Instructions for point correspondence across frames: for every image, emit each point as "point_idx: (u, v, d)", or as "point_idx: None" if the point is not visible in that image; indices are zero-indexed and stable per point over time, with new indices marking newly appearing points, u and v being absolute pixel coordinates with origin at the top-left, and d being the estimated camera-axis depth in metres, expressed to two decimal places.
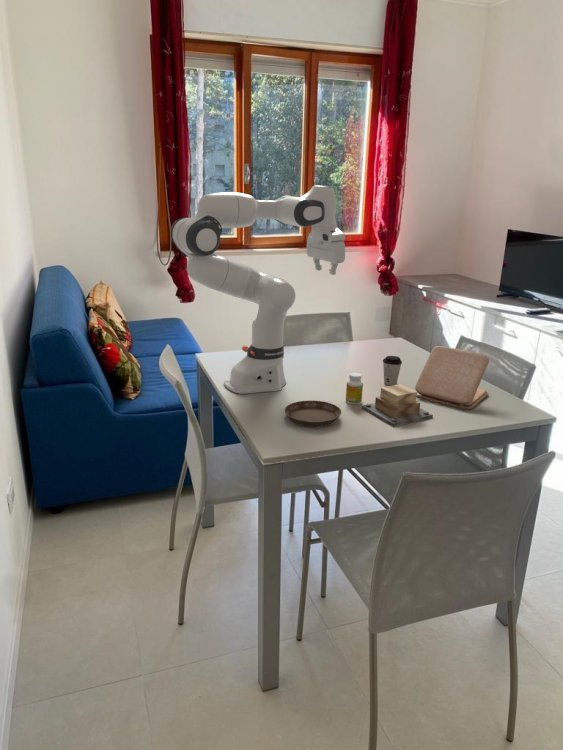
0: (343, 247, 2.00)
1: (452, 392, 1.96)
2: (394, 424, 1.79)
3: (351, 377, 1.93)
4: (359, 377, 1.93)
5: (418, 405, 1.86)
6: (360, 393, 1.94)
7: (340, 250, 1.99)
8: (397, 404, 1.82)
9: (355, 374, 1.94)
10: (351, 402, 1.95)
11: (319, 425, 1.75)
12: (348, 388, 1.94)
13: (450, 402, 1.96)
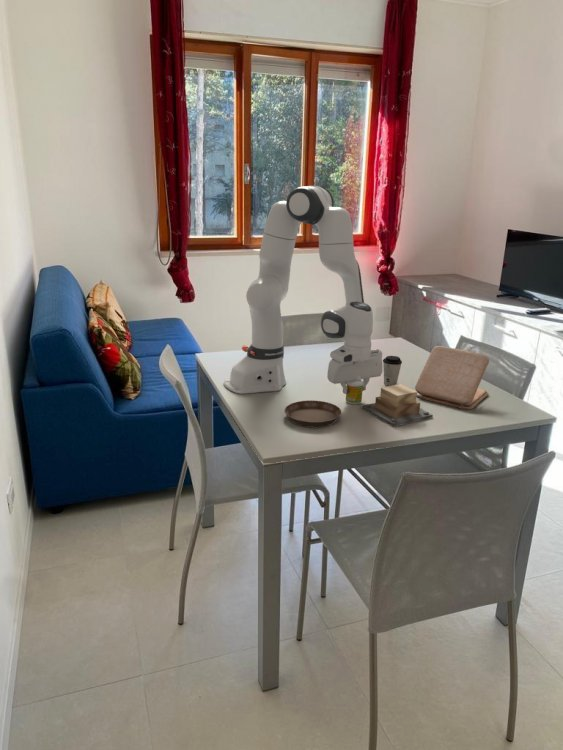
0: (334, 368, 1.87)
1: (452, 392, 1.96)
2: (394, 424, 1.79)
3: None
4: (359, 377, 1.93)
5: (418, 405, 1.86)
6: (360, 393, 1.94)
7: (331, 370, 1.88)
8: (397, 404, 1.82)
9: None
10: (351, 402, 1.95)
11: (319, 425, 1.75)
12: None
13: (450, 402, 1.96)
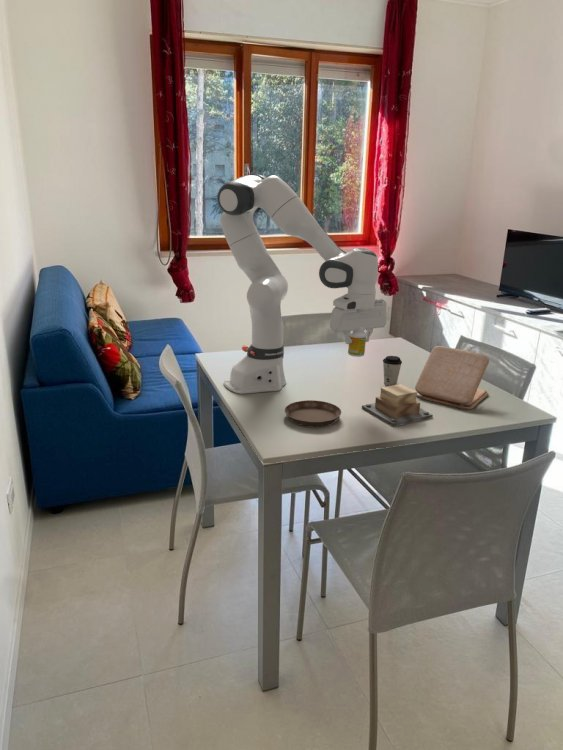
0: (337, 316, 1.82)
1: (452, 392, 1.96)
2: (394, 424, 1.79)
3: None
4: (362, 328, 1.87)
5: (418, 405, 1.86)
6: (363, 345, 1.89)
7: (334, 318, 1.83)
8: (397, 404, 1.82)
9: None
10: (354, 354, 1.89)
11: (319, 425, 1.75)
12: None
13: (450, 402, 1.96)
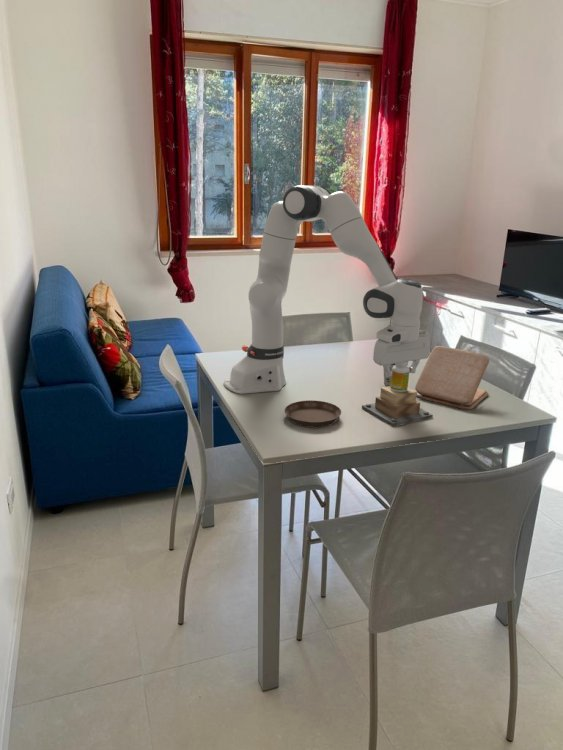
0: (381, 349, 1.76)
1: (452, 392, 1.96)
2: (394, 424, 1.79)
3: (397, 363, 1.82)
4: (406, 363, 1.82)
5: (418, 405, 1.86)
6: (406, 380, 1.83)
7: (378, 350, 1.77)
8: (397, 404, 1.82)
9: None
10: (397, 390, 1.84)
11: (319, 425, 1.75)
12: (394, 375, 1.83)
13: (450, 402, 1.96)
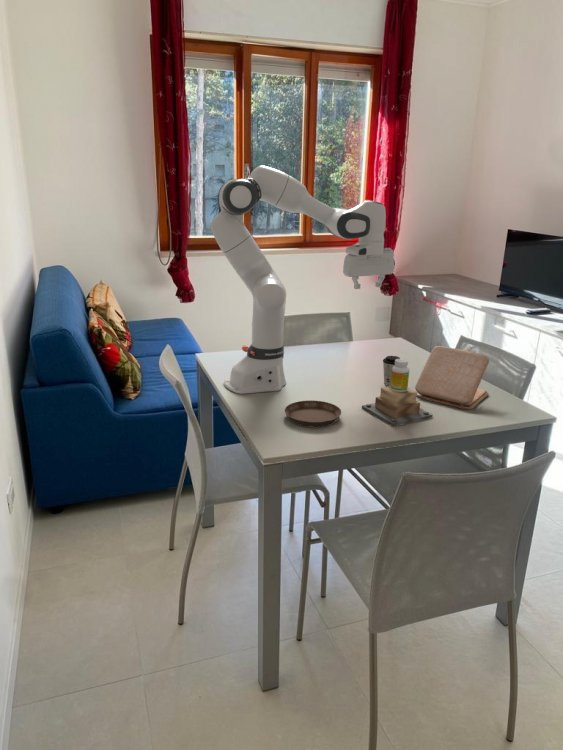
0: (350, 262, 2.01)
1: (452, 392, 1.96)
2: (394, 424, 1.79)
3: (397, 363, 1.82)
4: (406, 363, 1.82)
5: (418, 405, 1.86)
6: (406, 380, 1.83)
7: (347, 263, 2.02)
8: (397, 404, 1.82)
9: (401, 360, 1.83)
10: (397, 390, 1.84)
11: (319, 425, 1.75)
12: (394, 375, 1.83)
13: (450, 402, 1.96)
